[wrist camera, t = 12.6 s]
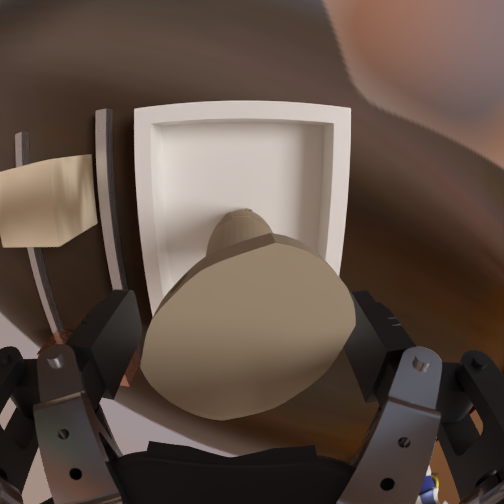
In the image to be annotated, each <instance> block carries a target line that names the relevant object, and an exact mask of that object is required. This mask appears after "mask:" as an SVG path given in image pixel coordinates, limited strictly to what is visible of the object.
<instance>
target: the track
mask: <svg viewBox="0 0 504 504" xmlns="http://www.w3.org/2000/svg"><path fill="white" fill-rule="evenodd" d="M95 135H96V168H97V183H98V195H99V206H100V215H101V223H102V230H103V237H104V244H105V250H106V256H107V262H108V267H109V273H110V278H111V283H112V287H113V290H114V289H121V290H128V284H127V279H126V273H125V268H124V262H123V255H122V249H121V242H120V234H119V226H118V217H117V207H116V196H115V183H114V166H113V110H111V109H102V110H97V111H96V124H95ZM15 150H16V168H17V167H21V166H25V165H28V164H30V153H29V132H20V133H18V134H15ZM27 249H28V254H29V258H30V262H31V266H32V270H33V274H34V278H35V281H36V285H37V288H38V292H39V295H40V298H41V301H42V304H43V307H44V310H45V313H46V316H47V319H48V321H49V324H50V327H51V329H52V332H53V335H52V336H51V337H50V338H49V339H48V341H47V342H46V343H45V344H44V346H43V347H42V348H41V349H40V351H39V352H38V353H37V355H38V357H39V355H40V353H41V352H42V351H43V350H45V349H46V348H48V347H50V346H53V345H56V344H65V343H66V342H67V340H68V339H69V337H70V336H71V335H72V333H73V332H74V331H72V330H66V329H64V327H63V325H62V322H61V319H60V316H59V313H58V310H57V307H56V304H55V301H54V297H53V294H52V290H51V287H50V283H49V280H48V276H47V272H46V268H45V264H44V260H43V255H42V251H41V247H27ZM142 354H143V350H142V346H141V342H140V341H139V344H138V346H137V348H136V350H135V352H134V354H133V357H132V359H131V361H130V363H129V365H128V368H127V370H126V372H125V374H124V377H123V379H122V381H121V383H120V385H122V386H128V387H130V384H131V382H132V379H133V377H134V375H135V372H136V370H137V368H138V365H139V363H140V361H141V358H142Z"/></svg>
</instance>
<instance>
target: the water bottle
mask: <svg viewBox="0 0 504 504" xmlns="http://www.w3.org/2000/svg"><path fill="white" fill-rule="evenodd" d="M437 494H438V479H437V478H436V477H435V476H434V475H431V469H430V466H428V470H427V473H426V476H425V479H424V482H423V485H422V487H421V490H420V493H419V496H418V498H417V501H416V503H415V504H440V503H439V501H438V497H437ZM443 504H448V503H447V502H446V501H444V503H443Z"/></svg>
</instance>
